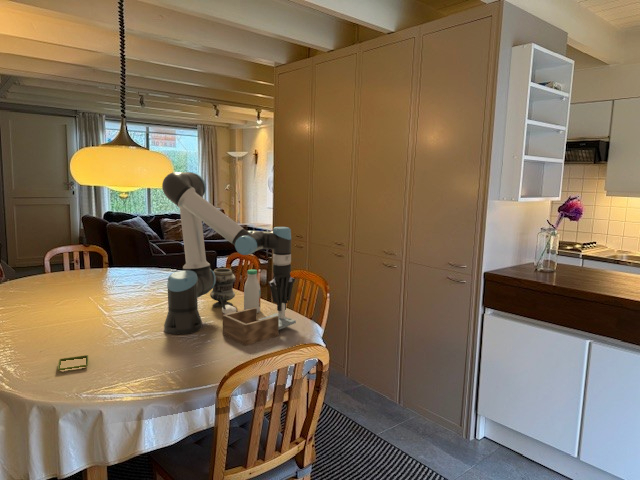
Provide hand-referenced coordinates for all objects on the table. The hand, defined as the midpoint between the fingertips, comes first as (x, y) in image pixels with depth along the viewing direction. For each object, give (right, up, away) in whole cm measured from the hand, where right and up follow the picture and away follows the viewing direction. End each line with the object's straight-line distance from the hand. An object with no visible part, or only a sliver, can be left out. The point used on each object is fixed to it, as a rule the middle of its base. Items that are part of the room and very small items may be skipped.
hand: (281, 317), depth 188 cm
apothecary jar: (-31, +1, +29) cm, 43 cm away
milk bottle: (-16, -1, +20) cm, 26 cm away
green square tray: (-65, -9, -43) cm, 78 cm away
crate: (-12, -5, -10) cm, 16 cm away
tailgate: (-5, -2, -5) cm, 8 cm away
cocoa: (-24, -2, +8) cm, 26 cm away
